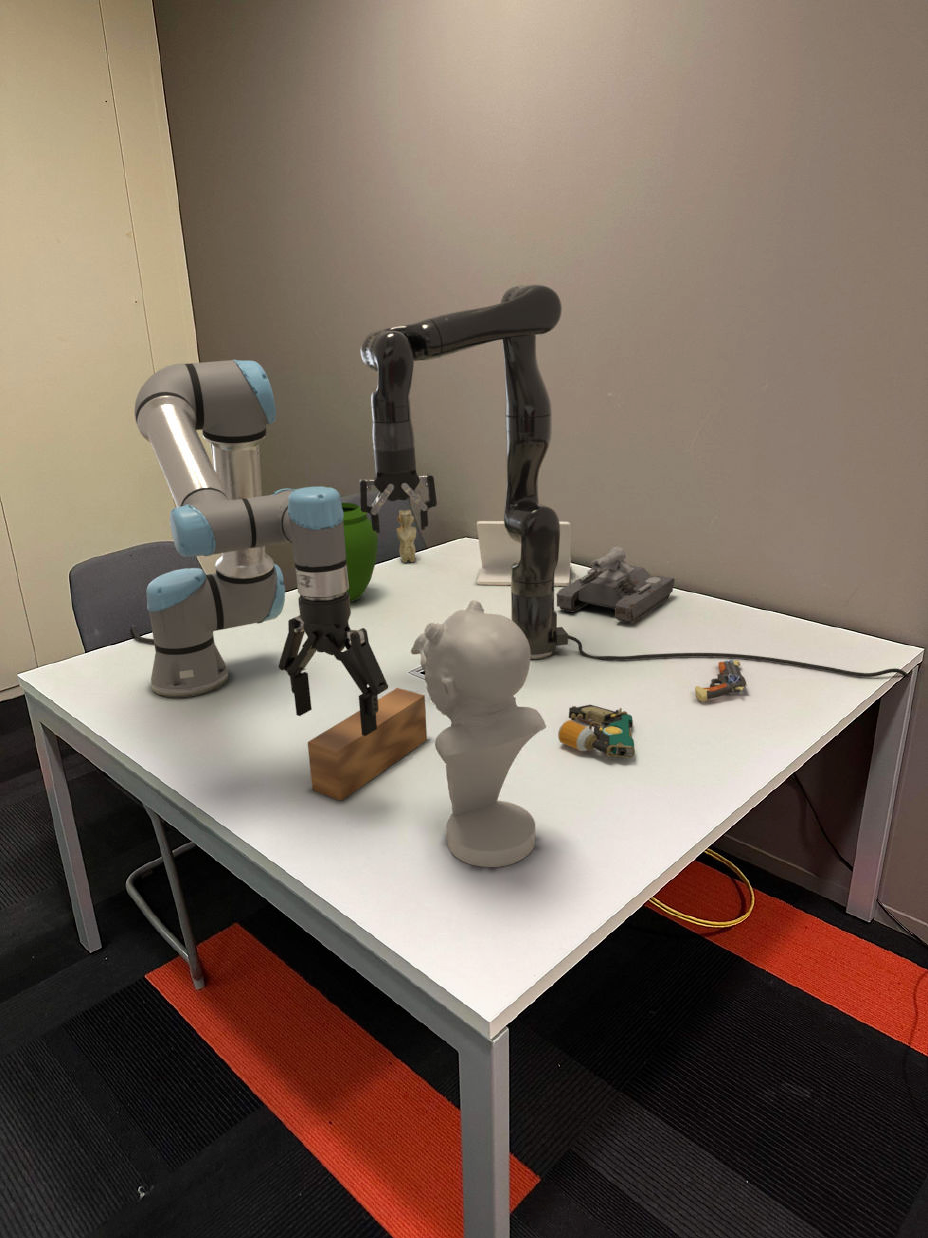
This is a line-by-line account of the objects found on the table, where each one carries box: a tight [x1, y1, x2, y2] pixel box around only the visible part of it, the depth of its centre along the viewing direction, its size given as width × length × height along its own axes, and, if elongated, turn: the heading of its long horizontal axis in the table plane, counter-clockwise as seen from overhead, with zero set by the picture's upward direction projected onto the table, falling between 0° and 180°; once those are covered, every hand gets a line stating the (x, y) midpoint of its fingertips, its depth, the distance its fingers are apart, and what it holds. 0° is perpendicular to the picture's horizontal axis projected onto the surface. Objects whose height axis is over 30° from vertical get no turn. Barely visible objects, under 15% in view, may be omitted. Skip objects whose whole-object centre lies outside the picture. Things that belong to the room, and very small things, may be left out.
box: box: [307, 687, 428, 802], centre depth 143 cm, size 23×6×9 cm, turn 146°
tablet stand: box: [476, 520, 572, 587], centre depth 236 cm, size 18×25×17 cm
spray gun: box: [557, 704, 636, 759], centre depth 150 cm, size 4×17×15 cm
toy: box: [556, 546, 676, 624], centre depth 212 cm, size 25×20×15 cm
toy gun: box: [694, 659, 749, 702], centre depth 169 cm, size 3×19×10 cm
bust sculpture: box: [410, 599, 547, 868], centre depth 121 cm, size 16×24×35 cm
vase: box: [341, 502, 379, 603], centre depth 220 cm, size 20×20×24 cm
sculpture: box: [396, 509, 417, 563], centre depth 253 cm, size 6×7×15 cm
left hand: (335, 722), depth 134 cm, fingers open, 13 cm apart
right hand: (400, 530), depth 162 cm, fingers open, 8 cm apart
